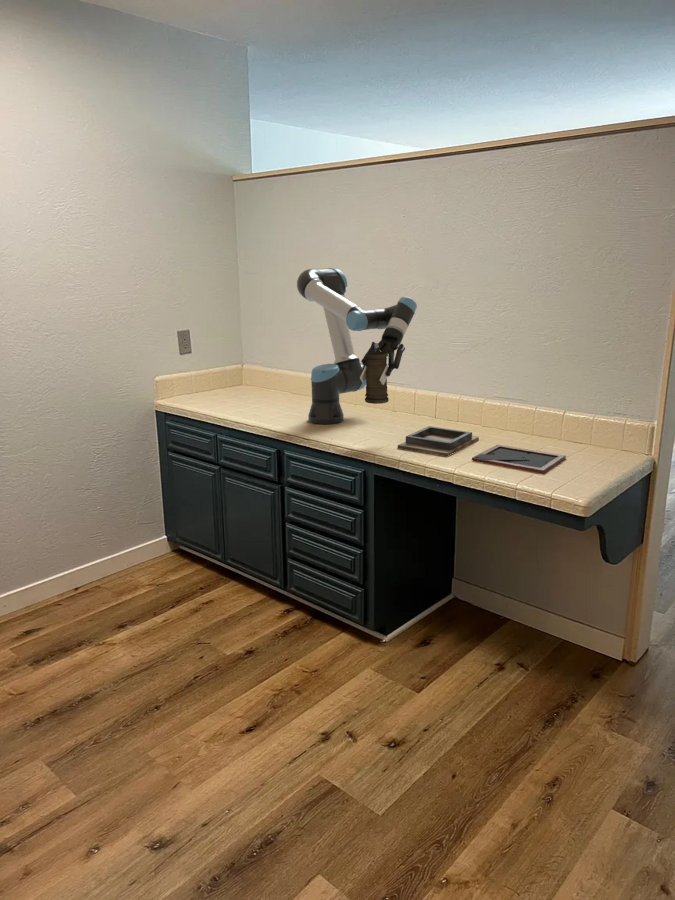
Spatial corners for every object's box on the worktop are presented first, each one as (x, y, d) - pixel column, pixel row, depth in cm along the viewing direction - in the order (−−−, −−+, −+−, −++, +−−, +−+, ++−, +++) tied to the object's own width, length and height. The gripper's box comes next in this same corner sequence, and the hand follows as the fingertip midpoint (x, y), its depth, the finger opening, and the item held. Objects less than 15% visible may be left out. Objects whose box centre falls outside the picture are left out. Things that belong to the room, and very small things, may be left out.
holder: (431, 432, 265) (431, 423, 264) (478, 439, 254) (479, 430, 253) (397, 448, 245) (397, 438, 244) (447, 456, 234) (447, 446, 233)
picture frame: (471, 462, 229) (543, 475, 214) (471, 456, 228) (543, 469, 214) (497, 449, 244) (565, 460, 229) (497, 443, 244) (565, 454, 229)
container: (387, 404, 248) (387, 355, 243) (362, 403, 250) (362, 355, 245) (390, 399, 256) (390, 351, 251) (366, 398, 258) (366, 351, 253)
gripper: (421, 340, 253) (399, 390, 245) (375, 337, 265) (352, 384, 257) (415, 327, 248) (392, 377, 239) (367, 325, 259) (344, 373, 251)
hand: (371, 381), depth 248 cm, fingers closed on container, 8 cm apart
